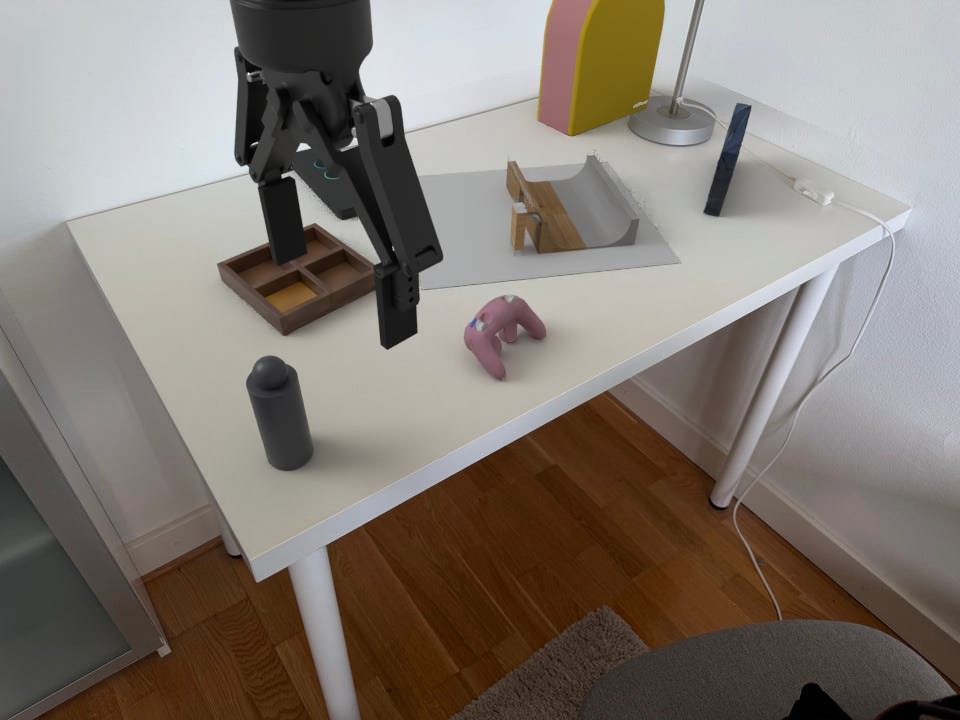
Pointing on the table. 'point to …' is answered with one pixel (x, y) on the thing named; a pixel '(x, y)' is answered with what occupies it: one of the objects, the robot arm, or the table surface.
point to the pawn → (280, 413)
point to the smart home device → (323, 183)
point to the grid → (299, 280)
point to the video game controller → (500, 330)
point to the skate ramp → (537, 224)
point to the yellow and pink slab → (597, 61)
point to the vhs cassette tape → (727, 159)
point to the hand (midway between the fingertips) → (341, 296)
